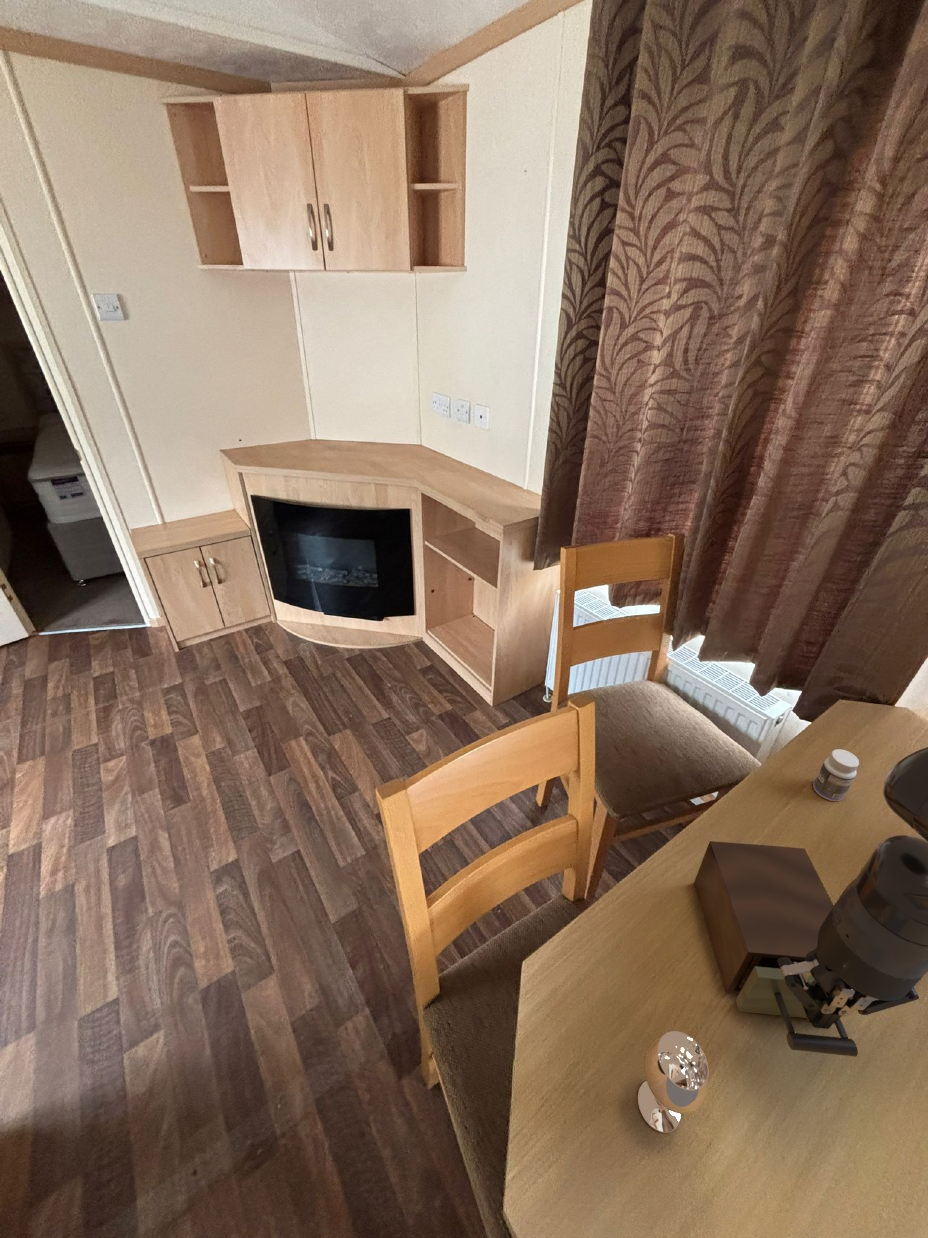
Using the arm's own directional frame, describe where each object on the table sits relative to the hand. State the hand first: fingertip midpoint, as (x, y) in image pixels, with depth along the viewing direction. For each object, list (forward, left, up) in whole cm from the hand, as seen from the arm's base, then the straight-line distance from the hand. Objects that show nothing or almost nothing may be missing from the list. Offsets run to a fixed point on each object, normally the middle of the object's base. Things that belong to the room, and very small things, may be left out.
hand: (815, 1018), depth 57 cm
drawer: (0, -7, -6) cm, 9 cm away
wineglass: (+17, +7, -7) cm, 20 cm away
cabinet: (0, -12, -7) cm, 14 cm away
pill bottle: (-22, -39, -7) cm, 45 cm away
